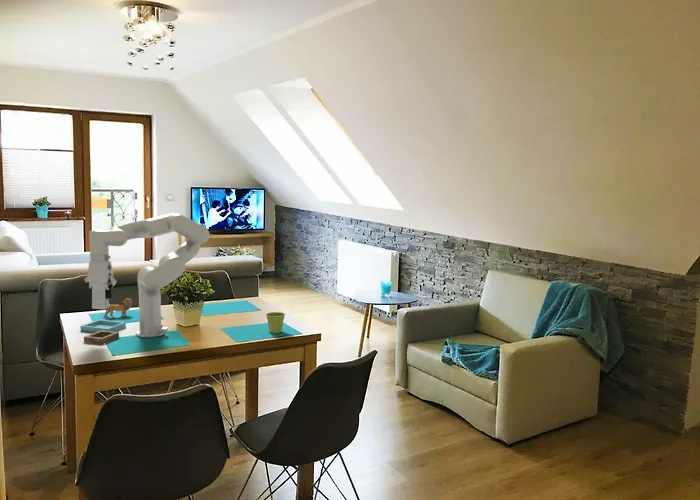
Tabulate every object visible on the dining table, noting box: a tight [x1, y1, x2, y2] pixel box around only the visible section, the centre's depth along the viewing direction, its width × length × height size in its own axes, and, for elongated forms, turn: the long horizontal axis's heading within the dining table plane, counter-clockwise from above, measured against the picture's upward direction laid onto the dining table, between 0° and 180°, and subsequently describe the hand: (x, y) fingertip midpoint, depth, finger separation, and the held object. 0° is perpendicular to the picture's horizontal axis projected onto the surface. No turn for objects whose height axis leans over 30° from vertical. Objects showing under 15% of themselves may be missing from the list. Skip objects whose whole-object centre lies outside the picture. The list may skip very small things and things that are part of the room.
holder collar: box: [83, 330, 120, 345], centre depth 267 cm, size 9×11×2 cm
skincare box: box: [91, 282, 110, 310], centre depth 265 cm, size 6×4×12 cm
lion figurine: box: [103, 297, 133, 319], centre depth 309 cm, size 15×5×9 cm, turn 131°
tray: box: [80, 319, 127, 334], centre depth 285 cm, size 15×13×2 cm
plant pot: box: [265, 311, 286, 334], centre depth 288 cm, size 9×9×9 cm
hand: (101, 297), depth 265 cm, fingers closed on skincare box, 7 cm apart
